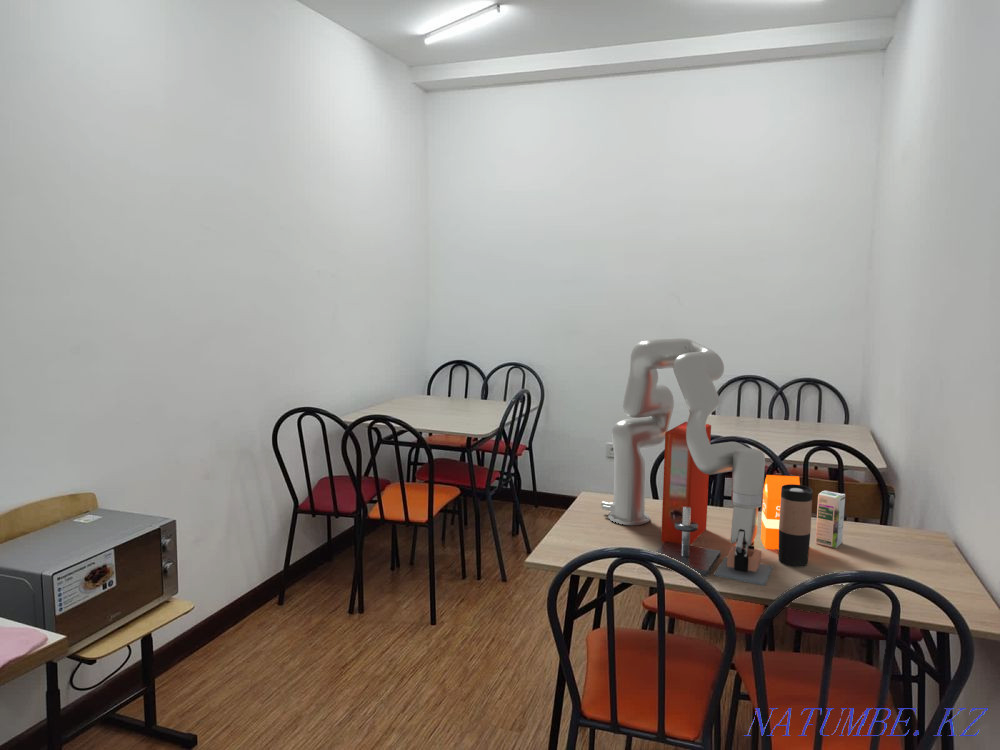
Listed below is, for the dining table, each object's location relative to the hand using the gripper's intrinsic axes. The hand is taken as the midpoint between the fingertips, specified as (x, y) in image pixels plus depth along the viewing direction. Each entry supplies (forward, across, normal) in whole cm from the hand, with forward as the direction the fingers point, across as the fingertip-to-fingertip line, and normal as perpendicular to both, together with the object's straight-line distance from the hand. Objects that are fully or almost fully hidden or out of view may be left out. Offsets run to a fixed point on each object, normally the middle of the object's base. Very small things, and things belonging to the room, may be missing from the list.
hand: (743, 564), depth 179 cm
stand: (+2, 0, -15) cm, 15 cm away
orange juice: (+2, -24, +5) cm, 25 cm away
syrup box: (+2, -32, +17) cm, 36 cm away
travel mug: (+2, -13, +10) cm, 17 cm away
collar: (0, 0, 0) cm, 0 cm away
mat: (+2, 0, 0) cm, 2 cm away
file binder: (+2, -18, -20) cm, 27 cm away
